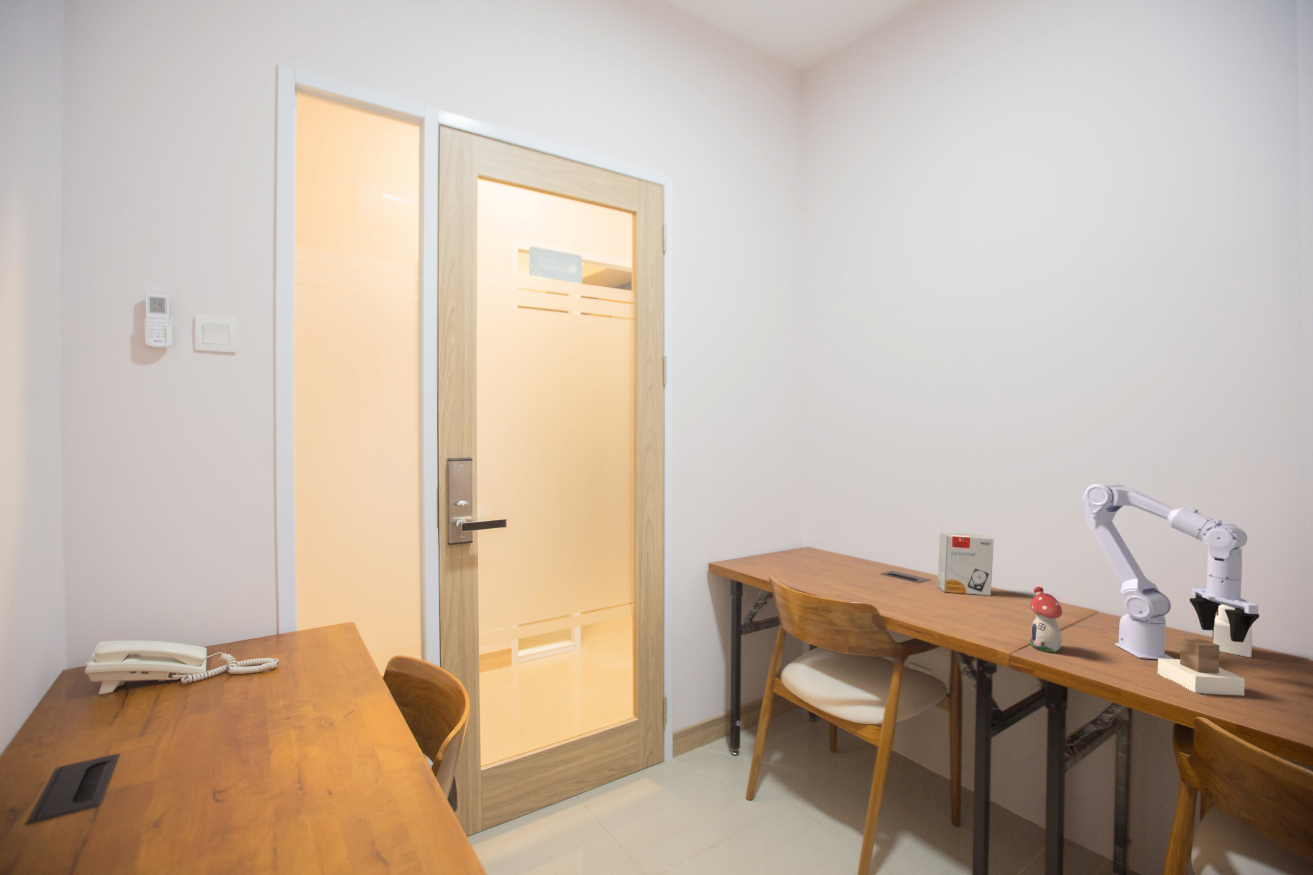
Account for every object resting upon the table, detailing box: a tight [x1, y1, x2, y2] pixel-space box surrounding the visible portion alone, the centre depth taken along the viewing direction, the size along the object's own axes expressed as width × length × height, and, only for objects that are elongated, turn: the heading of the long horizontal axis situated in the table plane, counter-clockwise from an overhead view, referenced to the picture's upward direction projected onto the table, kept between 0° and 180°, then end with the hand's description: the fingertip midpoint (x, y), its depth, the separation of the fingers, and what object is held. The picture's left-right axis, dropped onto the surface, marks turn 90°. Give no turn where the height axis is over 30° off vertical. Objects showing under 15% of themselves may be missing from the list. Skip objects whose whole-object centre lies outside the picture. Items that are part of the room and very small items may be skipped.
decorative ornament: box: [1029, 586, 1063, 653], centre depth 150 cm, size 9×6×15 cm
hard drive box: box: [937, 531, 995, 597], centre depth 203 cm, size 16×8×20 cm, turn 81°
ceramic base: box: [1157, 658, 1246, 696], centre depth 129 cm, size 10×10×4 cm
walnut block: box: [1179, 637, 1220, 673], centre depth 129 cm, size 4×4×6 cm
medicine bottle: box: [1211, 604, 1253, 658], centre depth 151 cm, size 7×7×12 cm
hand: (1221, 635), depth 134 cm, fingers open, 7 cm apart
